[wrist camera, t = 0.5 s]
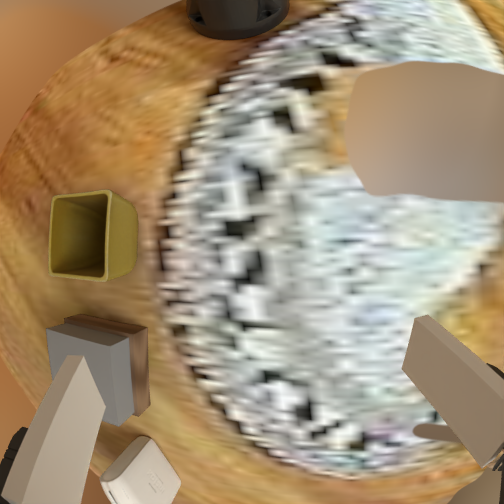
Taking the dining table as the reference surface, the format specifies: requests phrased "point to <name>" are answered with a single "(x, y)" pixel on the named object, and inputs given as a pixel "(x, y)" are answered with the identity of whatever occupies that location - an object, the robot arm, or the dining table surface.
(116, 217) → the flower pot
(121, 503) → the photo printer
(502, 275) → the dining table surface
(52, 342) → the grey top slab
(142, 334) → the walnut base slab
